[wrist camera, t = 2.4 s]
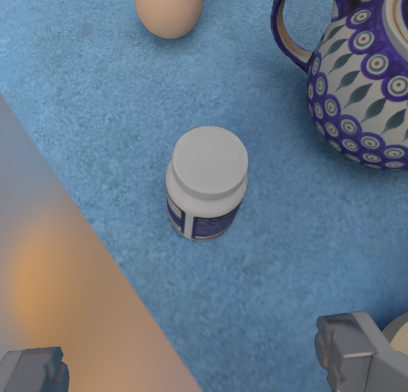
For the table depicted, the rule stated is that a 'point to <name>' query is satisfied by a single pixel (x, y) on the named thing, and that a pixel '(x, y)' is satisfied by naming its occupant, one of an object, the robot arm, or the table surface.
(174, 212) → the pill bottle
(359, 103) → the teapot
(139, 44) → the table surface
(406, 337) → the beige rounded board
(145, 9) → the egg
